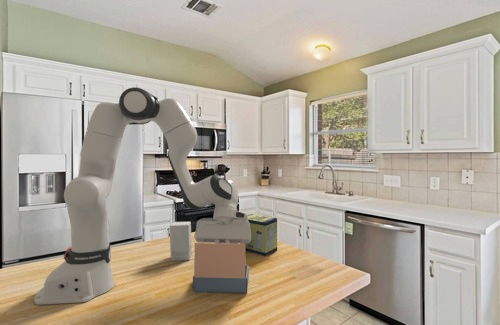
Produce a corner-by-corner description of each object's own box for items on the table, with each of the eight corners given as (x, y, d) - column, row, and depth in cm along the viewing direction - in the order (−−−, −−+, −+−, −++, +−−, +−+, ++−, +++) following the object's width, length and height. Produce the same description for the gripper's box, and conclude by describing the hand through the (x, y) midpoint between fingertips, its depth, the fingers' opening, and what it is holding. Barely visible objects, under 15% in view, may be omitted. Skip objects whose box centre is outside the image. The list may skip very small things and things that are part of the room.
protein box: (251, 243, 142) (251, 213, 141) (277, 250, 132) (277, 217, 132) (238, 249, 133) (238, 217, 133) (266, 256, 124) (266, 222, 123)
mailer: (192, 292, 92) (192, 277, 92) (200, 277, 103) (200, 264, 103) (247, 293, 91) (247, 278, 91) (248, 278, 102) (248, 265, 102)
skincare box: (192, 255, 125) (191, 221, 125) (189, 261, 119) (189, 225, 118) (173, 255, 125) (173, 221, 124) (169, 261, 118) (169, 225, 118)
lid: (194, 276, 91) (194, 277, 91) (194, 243, 92) (194, 243, 92) (245, 277, 91) (245, 278, 90) (245, 243, 91) (245, 244, 91)
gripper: (196, 213, 102) (189, 248, 93) (251, 214, 102) (250, 249, 92) (198, 222, 107) (192, 256, 97) (251, 223, 106) (250, 257, 97)
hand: (221, 253), depth 95 cm, fingers closed
